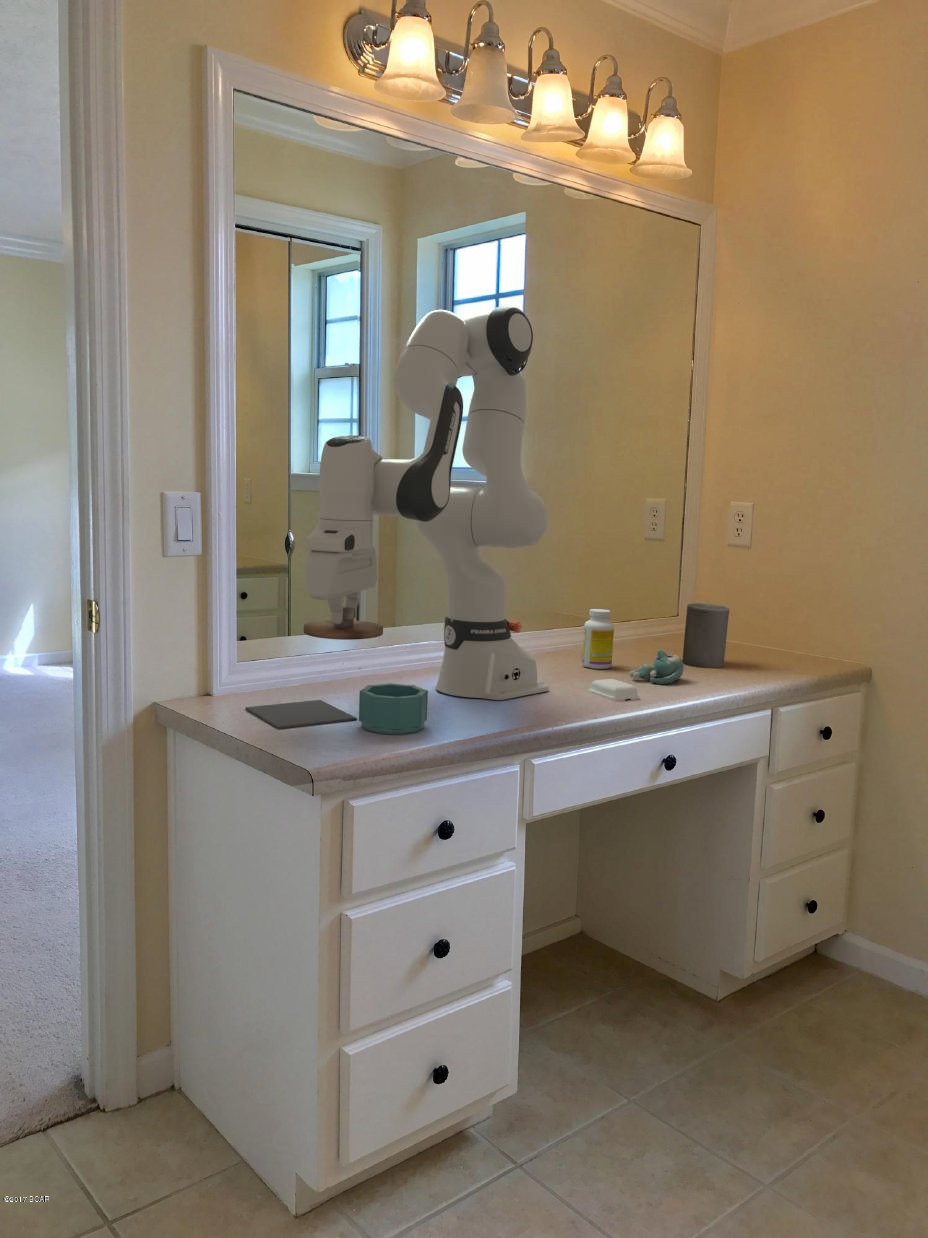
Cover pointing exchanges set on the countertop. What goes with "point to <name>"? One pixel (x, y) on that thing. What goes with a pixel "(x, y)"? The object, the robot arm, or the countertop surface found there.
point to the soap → (613, 690)
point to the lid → (344, 628)
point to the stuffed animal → (661, 669)
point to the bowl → (393, 708)
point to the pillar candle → (705, 635)
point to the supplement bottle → (598, 640)
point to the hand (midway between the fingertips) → (343, 620)
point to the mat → (300, 714)
